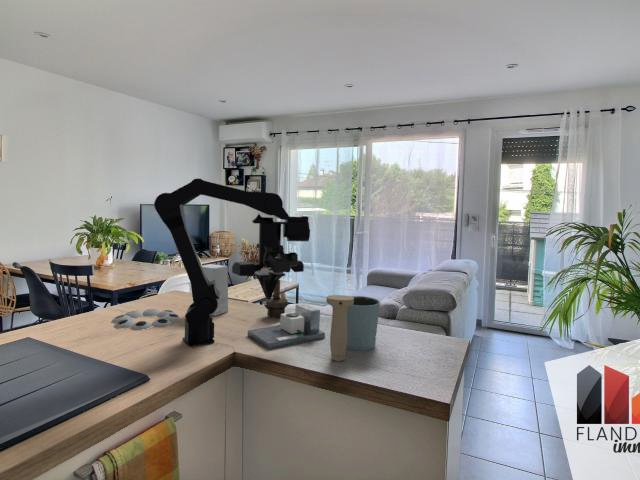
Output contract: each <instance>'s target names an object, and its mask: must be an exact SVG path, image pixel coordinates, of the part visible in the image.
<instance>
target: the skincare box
mask: <svg viewBox="0 0 640 480" xmlns="http://www.w3.org/2000/svg"><path fill="white" fill-rule="evenodd" d="M201 266H202V268H203V271H204V273H205V276H206V277H207V278H208V280H209V281H210V282H211V281H212V280H215V283H216V287H217V289H218V291H219V292H220V297H219V301H218V307H217V309H216V311H215V312H214V313H212V314H211V315H210V316H215V317H216V316H218V315H219V314H220V315H223V314H226V313H228V312H229V286H228V285H229V280H228V278H229V275H228V273H229V272H228V270H229V269H228V268H229V267H228V265H219V264H213V263H212V264H211V263H208V264H202V265H201Z"/></svg>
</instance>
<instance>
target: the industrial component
mask: <svg viewBox="0 0 640 480" xmlns="http://www.w3.org/2000/svg"><path fill="white" fill-rule="evenodd" d="M265 303H266V304H265ZM265 303H264V305H263V306H264V307H265V309H266V310H267V317H268V318H276V319H278V318H281V314H284V313H286V311H285V309H286V308H287V306H289V302H288V299H287V298H284V297H283V298H282V297H281V280H280V279H279V280H278V282H277V284H276V286H275V289H274V291H273V294H272V297H271V299H266V298H265Z"/></svg>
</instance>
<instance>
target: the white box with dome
mask: <svg viewBox="0 0 640 480" xmlns="http://www.w3.org/2000/svg"><path fill="white" fill-rule="evenodd" d="M279 325H280V328H281V329H283V330H285V331H287V332H289V333H291V334H294V333H301V334H303V332H304V317H303V316H300V315H299V314H296V313H295V311H292V312H285V313H284V314H281V317H280V323H279Z"/></svg>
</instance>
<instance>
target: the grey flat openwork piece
mask: <svg viewBox="0 0 640 480" xmlns="http://www.w3.org/2000/svg"><path fill="white" fill-rule="evenodd" d="M142 316H143V317H156V318H158V319H155V320H154V321H152V322H151V323H150V322H149V321H146V320H140V321H137V322H135V321H134V319H139V318H138V317H140V318H143V317H142ZM132 318H134V319H132ZM181 319H182V318H181V317H180V316H179V315H178V314H177V313H176V312H175V311H174V310H170V309H169V310H168V309H164V310H161V311H160V310H159V309H156V308H155V309H154V308H149V309H145V310H144V311H142V312H141V311H138V310H134V311H128V312H126V313H125V314H121V315H117V316H115V317H114V318H112V320H111V321H110V322H113V323H112V324H114V325H113V328H114V327H115V329H118V328H124V329H130V330H132V329H134V330H133V331H143V330H142V329H146V330H148V329H147V328H150V327H152V326H154V327H152V328H166V326H167V327H169V326H172V324H173V323H175V322H179V321H181ZM132 320H133V321H132ZM115 323H116V324H115ZM119 323H121V324H119ZM138 324H141V325H138ZM129 327H131V328H129ZM150 329H151V328H150Z"/></svg>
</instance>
